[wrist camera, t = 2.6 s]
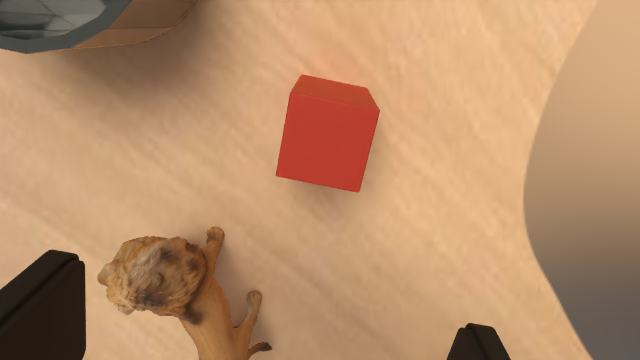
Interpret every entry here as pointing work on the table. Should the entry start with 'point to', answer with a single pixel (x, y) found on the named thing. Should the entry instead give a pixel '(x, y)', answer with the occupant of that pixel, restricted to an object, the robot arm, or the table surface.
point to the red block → (327, 133)
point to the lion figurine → (182, 292)
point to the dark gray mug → (85, 23)
